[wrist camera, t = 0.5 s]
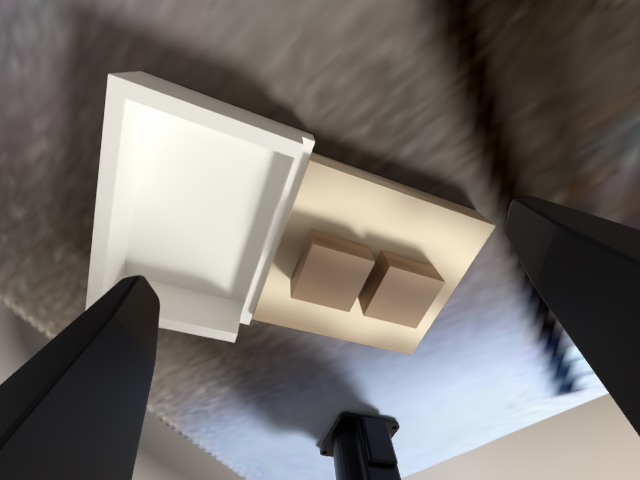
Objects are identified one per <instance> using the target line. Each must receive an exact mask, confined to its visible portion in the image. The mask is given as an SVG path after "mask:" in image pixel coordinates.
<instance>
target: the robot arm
mask: <svg viewBox="0 0 640 480" xmlns="http://www.w3.org/2000/svg"><path fill="white" fill-rule="evenodd" d="M505 231H506V235H507V238H508V239H509V241H510V243H511V245H512V247H513V249H514V250H515V252H516V254H517V256H518V258H519V260H520V261H521V263H522V265H523V267H524V269H525V271H526V272H527V274H528V276H529V278H530V280H531V281H532V283H533V285H534V286H535V288H536V289H537V291H538V292H539V294H540V296H541V297H542V298H543V300H544V301H545V303H546V304H547V305H548V307H549V308H550V310H551V311H552V313H553V314H554V315H555V317H556V318H557V320H558V321H559V323H560V324H561V325H562V327H563V328H564V330H565V331H566V332H567V334H568V335H569V337H570V338H571V340H572V341H573V342H574V344H575V345H576V347H577V348H578V350H579V351H580V352H581V354H582V355H583V357H584V358H585V360H586V361H587V362H588V364H589V365H590V367H591V368H592V369H593V371H594V372H595V374H596V375H597V377H598V378H599V379H600V381H601V382H602V384H603V385H604V387H605V388H606V389H607V391H608V392H609V394H610V395H611V396H612V398H613V399H614V400H615V402H616V403H617V405H618V406H619V408H620V409H621V411H622V412H623V413H624V415H625V416H626V418H627V419H628V421H629V422H630V423H631V425H632V426H633V428H634V429H635V431H636V432H637V433H638V435H639V436H640V230H639V229H636V228H632V227H629V226H626V225H623V224H620V223H616V222H613V221H610V220H607V219H604V218H600V217H597V216H594V215H591V214H588V213H584V212H581V211H578V210H575V209H572V208H569V207H565V206H562V205H559V204H556V203H553V202H549V201H546V200H543V199H540V198H537V197H533V196H528V197H523V198H518V199H515V200H513V201H512V202H511V204H510V208H509V213H508V217H507V221H506V226H505ZM159 315H160V300H159V297H158V295H157V294H156V292H155V291H154V290H153V288H152V287H151V285H150V284H149V282H148V281H147V279H146V278H145V277H144V276H143V275H134V276H129V277H125V278H123V279H121V280H120V281H119V282H118V283H117V284H115V285H114V286H113V287H112V288H111V289H110V290H109V291H107V292H106V293H105V294H104V295H103V296H102V297H101V298H99V299H98V300H97V301H96V302H95V303H94V304H93V305H91V306H90V307H89V308H88V309H87V310H86V311H85V312H83V313H82V314H81V315H80V316H79V317H78V318H76V319H75V320H74V321H73V322H72V323H71V324H70V325H68V326H67V327H66V328H65V329H64V330H63V331H62V332H60V333H59V334H58V335H57V336H56V337H55V338H54V339H52V340H51V341H50V342H49V343H48V344H47V345H46V346H44V347H43V348H42V349H41V350H40V351H39V352H38V353H36V354H35V355H34V356H33V357H32V358H31V359H29V360H28V361H27V362H26V363H25V364H24V365H23V366H21V367H20V368H19V369H18V370H17V371H16V372H15V373H13V374H12V375H11V376H10V377H9V378H8V379H7V380H5V381H4V382H3V383H2V384H1V385H0V480H132V475H133V469H134V465H135V459H136V455H137V450H138V445H139V440H140V435H141V430H142V425H143V421H144V416H145V411H146V406H147V401H148V396H149V391H150V386H151V381H152V377H153V371H154V366H155V359H156V350H157V338H158V327H159ZM398 429H399V424H398V422H397V421H393V420H387V419H381V418H375V417H369V416H363V415H357V414H351V413H342V414H340V416H339V417H338V419H337V421H336V422H335V424H334V426H333V427H332V429H331V431H330V432H329V434H328V436H327V438H326V439H325V441H324V443H323V444H322V446H321V448H320V454H321V455H323V456H331V457H334V465H335V473H336V480H401V477H400V473H399V470H398V466H397V463H398V462H397V458H396V455H395V451H394V447H393V444H392V440H391V438H392V437H393V436H394V434H395V433H396V432H397V430H398Z"/></svg>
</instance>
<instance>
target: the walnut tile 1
mask: <svg viewBox="0 0 640 480" xmlns="http://www.w3.org/2000/svg"><path fill="white" fill-rule="evenodd" d="M374 264H375V260H374V258H373V256H372V253H371V251H370V249H369V247H368V246H367V245H363V244H360V243H357V242H353V241H350V240H347V239H343V238H340V237H337V236H333V235H330V234H327V233H323V232H320V231H317V230H314V229H310V231H309V234H308V236H307V239H306V241H305V244H304V246H303V249H302V251H301V254H300V256H299V259H298V261H297V264H296V266H295V269H294V271H293V274H292V276H291V279H290V292H291V298H293V299H297V300H301V301H305V302H309V303H313V304H317V305H321V306H326V307H330V308H334V309H338V310H342V311H346V312H350V310H351V308H352V306H353V304H354V303H355V301H356V299H357V297H358V295H359V293H360V291H361V289H362V287H363V285H364V283H365V281H366V279H367V277H368V275H369V273H370V271H371V269H372V267H373V266H374Z"/></svg>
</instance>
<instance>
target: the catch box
mask: <svg viewBox="0 0 640 480" xmlns="http://www.w3.org/2000/svg"><path fill="white" fill-rule="evenodd" d="M314 144H315V139H314V137H313V135H312V134H309V133H306V132H304V131H301V130H298V129H296V128H293V127H290V126H288V125H285V124H282V123H280V122H277V121H274V120H272V119H269V118H266V117H263V116H261V115H258V114H255V113H253V112H250V111H247V110H245V109H242V108H239V107H237V106H234V105H231V104H228V103H226V102H223V101H220V100H218V99H215V98H212V97H210V96H207V95H204V94H202V93H199V92H196V91H194V90H191V89H188V88H185V87H183V86H180V85H177V84H175V83H172V82H169V81H167V80H164V79H161V78H159V77H156V76H153V75H151V74H148V73H145V72H142V71H137V72H124V73H111V74H108V81H107V91H106V102H105V112H104V122H103V133H102V143H101V154H100V164H99V175H98V185H97V195H96V206H95V216H94V227H93V237H92V248H91V258H90V268H89V279H88V289H87V300H86V310H87V309H88V308H89V307H90V306H91V305H93V304H94V303H95V302H96V301H97V300H98V299H99V298H101V297H102V296H103V295H104V294H105V293H106V292H107V291H109V290H110V289H111V288H112V287H113V286H114V285H115V284H117V283H118V282H119V281H120V280H121V279H123V278H125V277H129V276H134V275H143V276H144V277H145V278H146V279H147V281H148V282H149V284H150V285H151V287H152V288H153V290H154V291H155V292H156V294H157V295H158V297H159V300H160V315H159V327H160V328H165V329H170V330H175V331H180V332H185V333H190V334H194V335H199V336H204V337H209V338H214V339H219V340H224V341H229V342H234V343H235V340H236V337H237V334H238V329H239V323H242V324H247V325H249V323H250V321H251V318H252V315H253V312H254V310H255V307H256V304H257V301H258V299H259V296H260V293H261V290H262V288H263V285H264V282H265V279H266V277H267V274H268V271H269V268H270V265H271V263H272V260H273V257H274V254H275V252H276V249H277V246H278V243H279V241H280V238H281V235H282V232H283V230H284V227H285V224H286V221H287V219H288V216H289V213H290V210H291V207H292V205H293V202H294V199H295V196H296V194H297V191H298V188H299V185H300V183H301V180H302V177H303V174H304V172H305V169H306V166H307V163H308V160H309V158H310V155H311V152H312V149H313V147H314ZM86 310H85V311H86Z"/></svg>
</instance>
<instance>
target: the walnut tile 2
mask: <svg viewBox="0 0 640 480" xmlns="http://www.w3.org/2000/svg"><path fill="white" fill-rule="evenodd" d="M444 284H445V281H444V279H443V278H442V277H441V275H440V274H439V272H438V271H437V270H436V268H435V267H434V266H433V265H430V264H427V263H423V262H420V261H417V260H413V259H410V258H407V257H403V256H400V255H397V254H393V253H390V252H387V251H383V250H382V251H381V253H380V255H379V256H378V258H377V260H376V262H375V264H374V266H373V268H372V270H371V272H370V274H369V276H368V278H367V280H366V282H365V284H364V286H363V288H362V290H361V291H360V293H359V295H358V300H359V303H360V306H361V310H362V313H363V316H366V317H370V318H375V319H379V320H383V321H387V322H391V323H395V324H399V325H403V326H407V327H411V328H415V329H416V328H417V327H418V325H419V323H420V322H421V320H422V319H423V317H424V316H425V314H426V312H427V311H428V309H429V308H430V306H431V305H432V303H433V301H434V300H435V298H436V297H437V295H438V293H439V292H440V290H441V289H442V287H443V286H444Z"/></svg>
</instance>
